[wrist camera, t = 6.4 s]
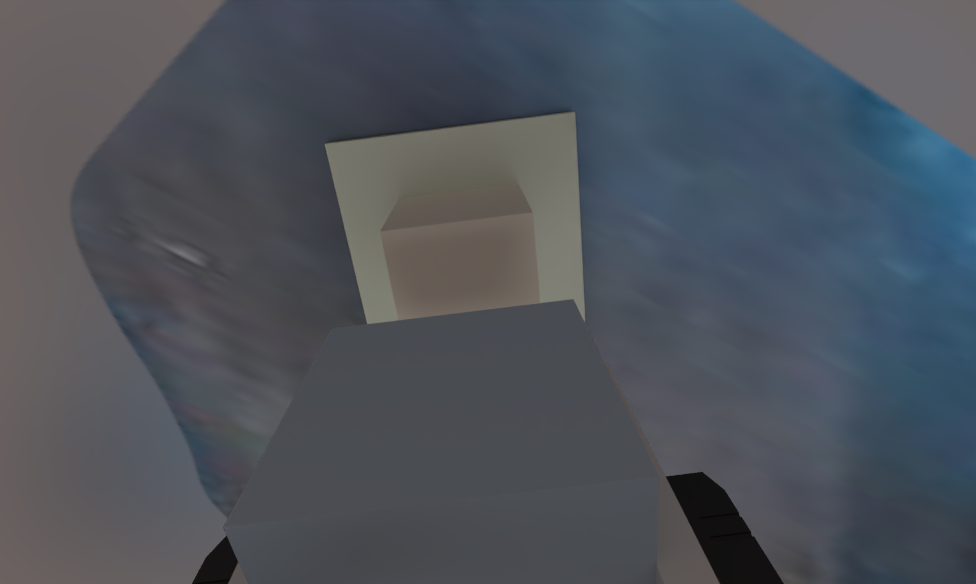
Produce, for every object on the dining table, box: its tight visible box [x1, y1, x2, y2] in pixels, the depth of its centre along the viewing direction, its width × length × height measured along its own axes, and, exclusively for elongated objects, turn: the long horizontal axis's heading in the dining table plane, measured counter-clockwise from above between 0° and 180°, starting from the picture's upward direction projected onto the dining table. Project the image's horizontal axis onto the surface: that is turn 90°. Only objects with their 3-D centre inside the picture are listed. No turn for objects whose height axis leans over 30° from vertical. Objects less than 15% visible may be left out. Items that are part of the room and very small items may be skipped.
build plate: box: [325, 111, 585, 324], centre depth 27 cm, size 12×12×1 cm
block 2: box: [223, 299, 659, 584], centre depth 11 cm, size 6×6×6 cm
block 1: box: [380, 183, 541, 320], centre depth 24 cm, size 6×6×6 cm
